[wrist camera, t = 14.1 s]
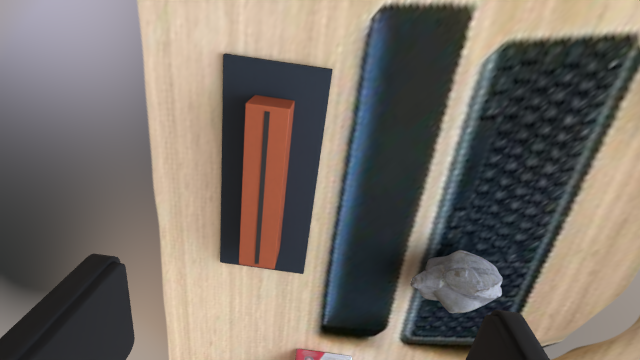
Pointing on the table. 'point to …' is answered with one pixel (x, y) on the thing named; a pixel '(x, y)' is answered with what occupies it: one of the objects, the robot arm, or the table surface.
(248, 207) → the pencil case
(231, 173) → the mat
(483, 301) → the fossil
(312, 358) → the ink box
